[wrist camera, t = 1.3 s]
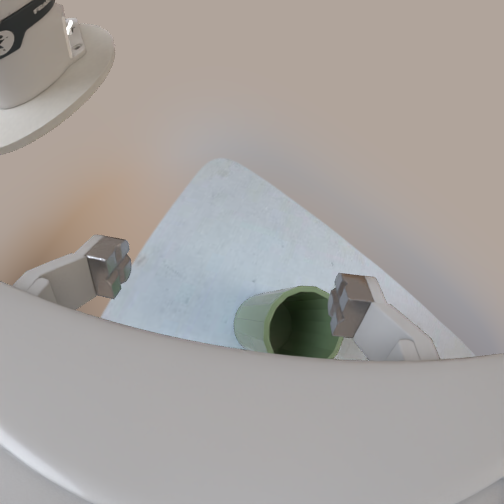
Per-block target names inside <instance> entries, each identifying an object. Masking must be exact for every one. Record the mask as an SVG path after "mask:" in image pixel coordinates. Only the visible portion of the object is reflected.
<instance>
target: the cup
mask: <svg viewBox="0 0 504 504" xmlns="http://www.w3.org/2000/svg"><path fill="white" fill-rule="evenodd" d="M329 295H330V294H329V293H327V292H325V291H323V290H321V289H319V288H317V287H314V286H297V287H292V288H287V289H281V290H276V291H271V292H266V293H261V294H258V295H254V296H252V297H250V298H248V299H247V300H246V301H244V302H243V303H242V304H241V306H240V307H239V308H238V310H237V312H236V315H235V319H234V332H235V335H236V338H237V340H238V342H239V343H240V344H241V346H242V347H243V348H244V349H246V350H250V351H257V352H264V353H272V354H281V355H290V356H300V357H311V358H324V359H333V358H334V357H335V356H336V355H337V353H338V351H339V348H340V346H341V343H342V340H343V337H337V336H332V333H331V328H330V321H331V319H332V318H331V317H330V316H329V315H328V299H329Z"/></svg>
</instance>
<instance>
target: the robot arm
mask: <svg viewBox="0 0 504 504" xmlns="http://www.w3.org/2000/svg"><path fill="white" fill-rule="evenodd" d="M86 52H87V51H86V48H85V45H84V41H83V38H82V34H81V31H80V27H79V24H78V21H77V18H68V19H65V15H64V9H63V6H62V5H60V4H57V3H55V0H0V109H9V108H13V107H16V106H19V105H21V104H23V103H25V102H27V101H29V100H31V99H32V98H34V97H36V96H37V95H39V94H40V93H41V92H43V91H44V90H46V89H47V88H48V87H49V86H51V85H52V84H53V83H54V82H55V81H56V80H57V79H58V78H59V77H60V76H61V75H62V74H63V73H64V72H65V71H66V69H67V68H68V67H69V66H70V65H72V64H73V63H75V62H76V61H77V60H79V59H80V58H82V57H83V56H84V55H85V54H86ZM128 251H129V244H128V242H127V241H126V240H124V239H119V238H113V237H108V236H103V235H93V236H92V237H91V238H90V239H89V240H88V241H87V242H86V243H85V244H84V245H83V246H81V247H80V248H79V249H78V250H77V251H76V252H75V254H68V255H66V256H63V257H60V258H58V259H55V260H53V261H50V262H48V263H45V264H43V265H40V266H38V267H36V268H33V269H31V270H28V271H26V272H25V273H24V274H23V275H22V276H21V277H20V278H19V279H18V281H16V283H15V284H14V285H13V286H11V285H8V284H6V283H4V282H1V281H0V504H504V354H494V355H486V356H477V357H467V358H456V359H441V360H440V357H439V355H438V353H437V350H436V348H435V345H434V343H433V341H432V339H431V338H430V337H429V336H428V335H426V334H425V333H424V332H423V331H422V330H421V329H420V328H418V327H417V326H416V325H415V324H414V323H413V322H411V321H410V320H409V319H408V318H407V317H405V316H404V315H403V314H402V313H401V312H399V311H398V310H397V309H396V308H395V307H393V306H392V305H391V304H387V302H386V299H385V297H384V295H383V292H382V290H381V288H380V286H379V283H378V281H377V279H376V278H375V277H371V276H360V275H351V274H343V273H338V275H337V276H336V279H335V286H336V288H334V289H333V290H332V291H331V292H330V295H329V299H328V315H329V316H330V317H331V318H332V319H331V321H330V328H331V333H332V336H337V337H346V338H353V341H354V342H355V343H356V344H357V346H358V347H359V348H360V349H361V351H362V352H363V353H364V355H365V356H366V357H367V359H368V360H369V361H365V360H339V359H324V358H311V357H300V356H290V355H281V354H272V353H264V352H257V351H250V350H243V349H236V348H230V347H224V346H218V345H212V344H207V343H201V342H196V341H191V340H186V339H181V338H177V337H172V336H167V335H163V334H159V333H154V332H150V331H146V330H142V329H138V328H134V327H130V326H127V325H123V324H119V323H116V322H112V321H109V320H105V319H102V318H99V317H95V316H92V315H89V314H86V313H83V312H80V311H76V309H77V308H79V307H81V306H82V305H84V304H85V303H87V302H88V301H90V300H91V299H93V298H94V297H96V295H98V296H103V297H106V298H111V299H115V297H116V296H117V294H118V293H119V291H120V290H121V284H122V283H124V282H126V281H127V280H128V278H129V276H130V273H131V259H130V258H129V256H128V255H127V253H128Z"/></svg>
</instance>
